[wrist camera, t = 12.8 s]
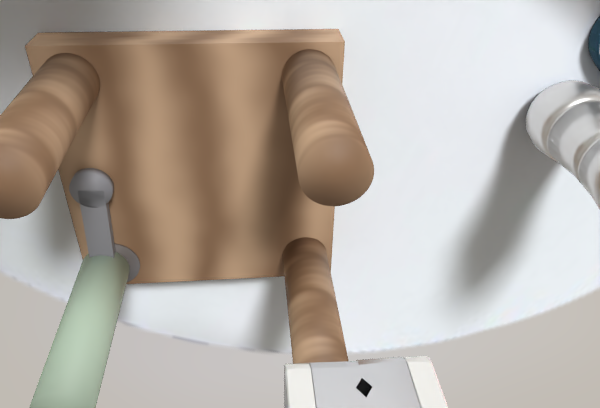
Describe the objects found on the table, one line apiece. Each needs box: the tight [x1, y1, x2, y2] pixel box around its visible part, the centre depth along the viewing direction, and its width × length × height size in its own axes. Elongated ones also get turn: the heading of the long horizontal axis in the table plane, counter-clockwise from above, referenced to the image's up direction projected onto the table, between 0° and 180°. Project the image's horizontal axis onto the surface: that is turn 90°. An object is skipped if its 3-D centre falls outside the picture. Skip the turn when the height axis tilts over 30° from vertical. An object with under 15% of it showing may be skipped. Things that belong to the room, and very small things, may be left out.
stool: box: [0, 29, 374, 364], centre depth 40 cm, size 22×22×17 cm
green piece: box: [30, 168, 130, 408], centre depth 40 cm, size 12×4×14 cm, turn 176°
